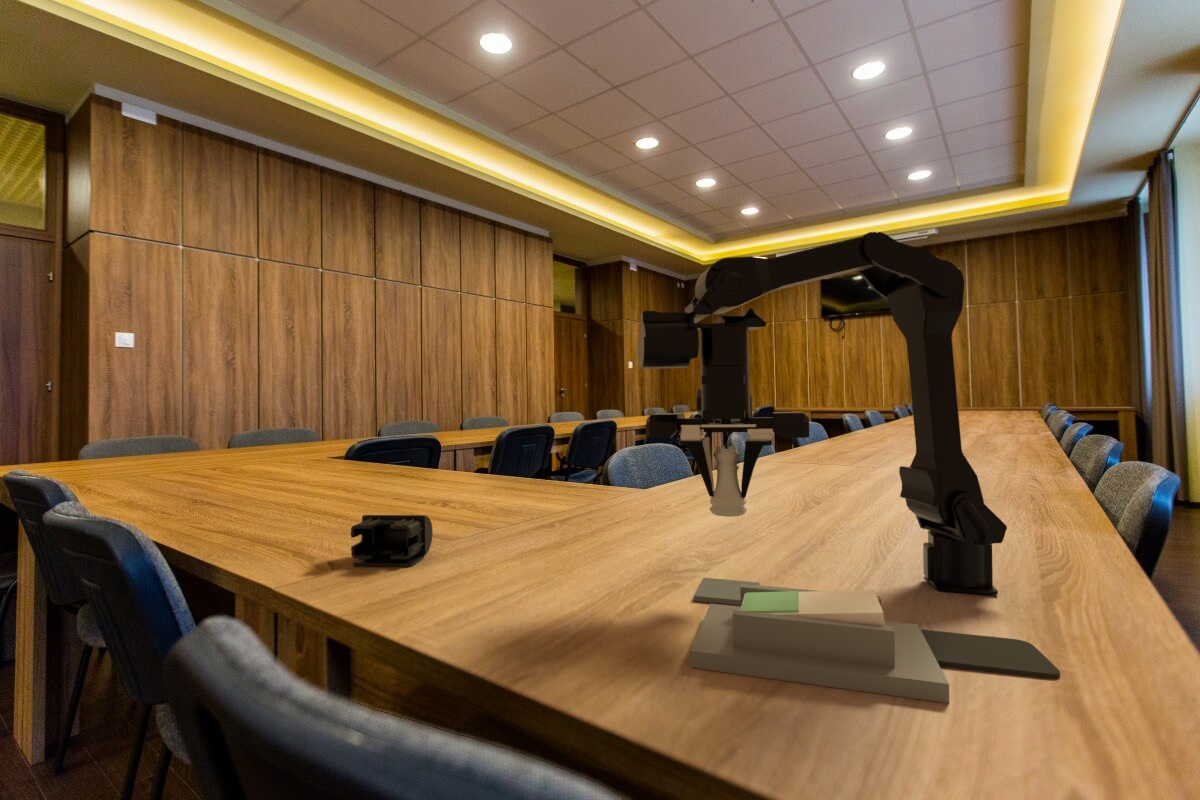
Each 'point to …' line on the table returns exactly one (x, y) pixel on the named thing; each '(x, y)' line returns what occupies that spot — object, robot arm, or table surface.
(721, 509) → the rook chess piece
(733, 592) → the rubber pad
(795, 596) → the rocker
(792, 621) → the grey stand
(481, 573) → the table surface
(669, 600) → the table surface
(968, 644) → the phone
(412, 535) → the end cap
